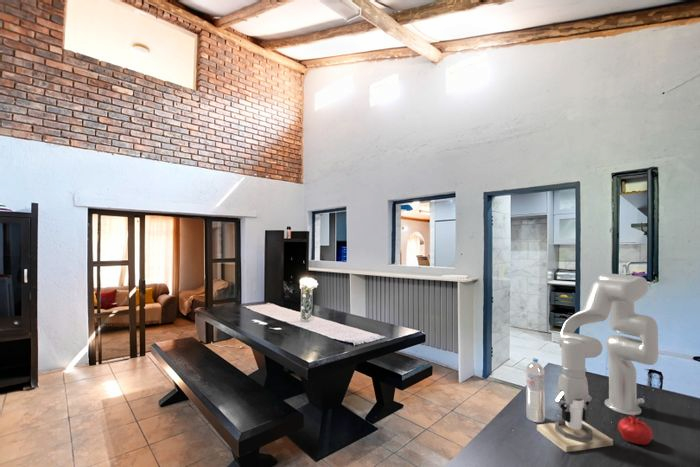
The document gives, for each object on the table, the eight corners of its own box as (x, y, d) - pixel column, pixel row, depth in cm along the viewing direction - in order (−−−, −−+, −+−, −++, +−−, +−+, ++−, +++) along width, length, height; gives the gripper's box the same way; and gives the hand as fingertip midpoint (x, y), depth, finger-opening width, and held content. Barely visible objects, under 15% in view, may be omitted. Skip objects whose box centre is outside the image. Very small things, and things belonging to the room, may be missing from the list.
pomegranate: (655, 452, 121) (655, 426, 121) (619, 442, 126) (620, 418, 126) (649, 437, 129) (649, 413, 129) (616, 429, 135) (616, 405, 134)
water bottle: (547, 424, 138) (547, 362, 138) (529, 422, 140) (528, 361, 140) (541, 415, 145) (541, 356, 145) (524, 413, 146) (523, 355, 146)
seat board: (580, 424, 138) (580, 415, 138) (612, 445, 124) (612, 435, 124) (536, 429, 134) (536, 421, 134) (565, 452, 121) (565, 442, 121)
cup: (582, 423, 131) (582, 394, 131) (585, 432, 125) (585, 402, 125) (562, 419, 134) (562, 391, 134) (564, 428, 128) (564, 398, 128)
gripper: (584, 366, 135) (584, 411, 135) (546, 370, 131) (546, 416, 132) (601, 374, 127) (601, 422, 127) (561, 378, 124) (562, 427, 124)
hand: (573, 419), depth 130 cm, fingers closed on cup, 5 cm apart
